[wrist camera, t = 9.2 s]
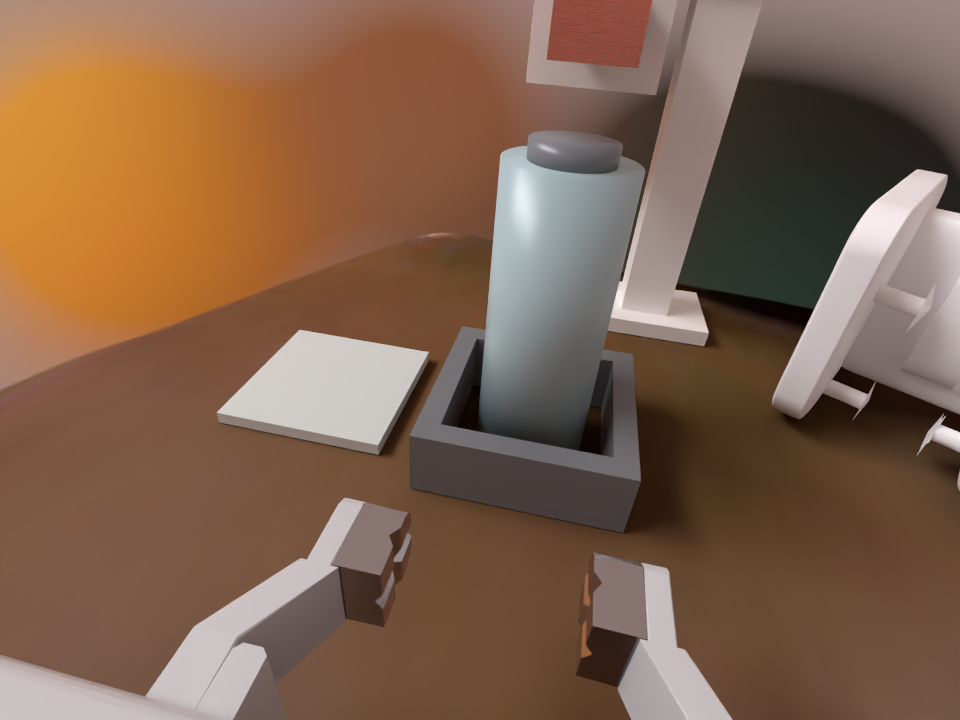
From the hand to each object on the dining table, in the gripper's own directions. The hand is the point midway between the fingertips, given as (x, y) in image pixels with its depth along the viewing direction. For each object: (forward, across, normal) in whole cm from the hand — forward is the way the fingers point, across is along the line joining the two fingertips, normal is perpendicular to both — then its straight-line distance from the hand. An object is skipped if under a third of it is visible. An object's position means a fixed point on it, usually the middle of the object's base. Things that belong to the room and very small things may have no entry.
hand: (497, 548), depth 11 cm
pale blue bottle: (+12, 0, +8) cm, 14 cm away
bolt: (+30, 0, -8) cm, 31 cm away
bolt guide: (+27, -3, +8) cm, 28 cm away
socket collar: (+12, 0, +8) cm, 14 cm away
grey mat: (+13, +10, +8) cm, 18 cm away
